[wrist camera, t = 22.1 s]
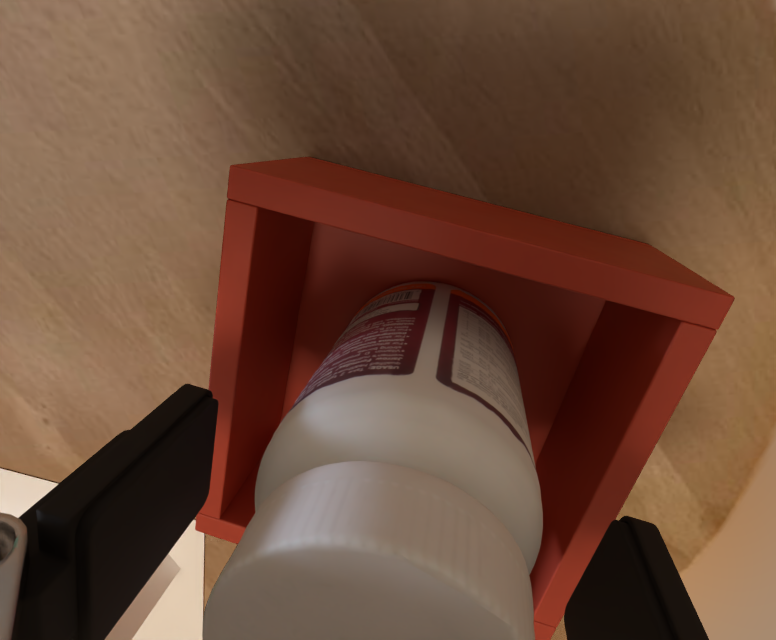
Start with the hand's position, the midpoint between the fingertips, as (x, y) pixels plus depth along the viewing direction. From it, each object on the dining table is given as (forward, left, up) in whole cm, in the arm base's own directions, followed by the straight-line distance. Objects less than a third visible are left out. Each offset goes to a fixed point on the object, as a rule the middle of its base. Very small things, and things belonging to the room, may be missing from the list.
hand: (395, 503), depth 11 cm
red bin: (0, 0, -8) cm, 8 cm away
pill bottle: (0, 0, -8) cm, 8 cm away
